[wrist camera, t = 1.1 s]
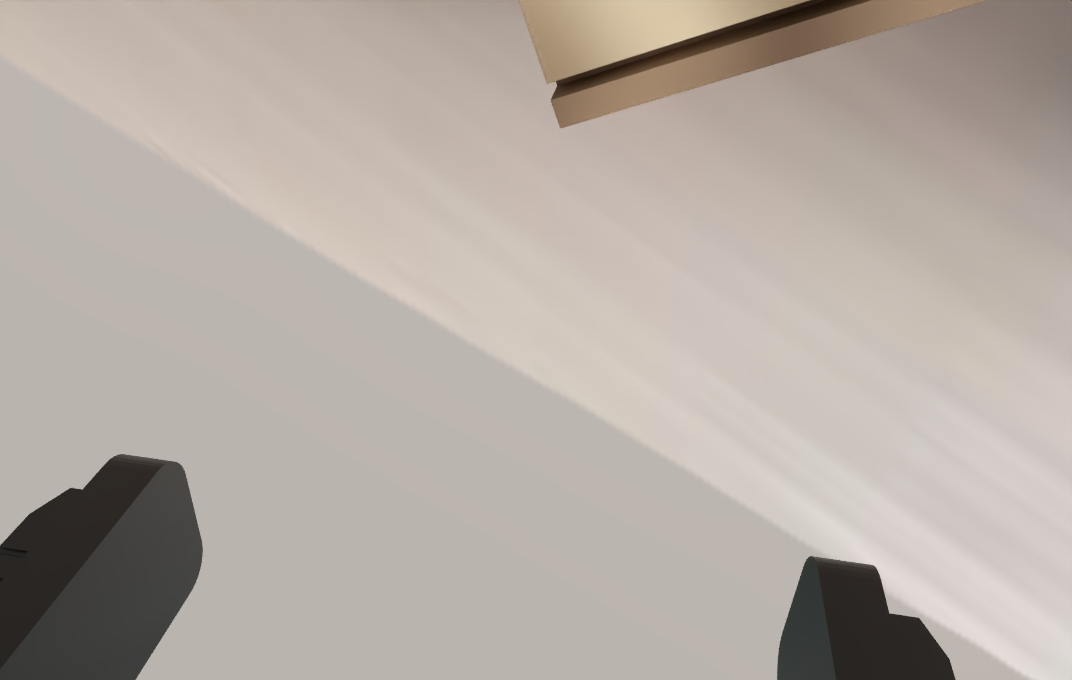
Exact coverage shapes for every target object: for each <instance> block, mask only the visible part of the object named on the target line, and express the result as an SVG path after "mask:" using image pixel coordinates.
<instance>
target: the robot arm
mask: <svg viewBox="0 0 1072 680" xmlns="http://www.w3.org/2000/svg"><path fill="white" fill-rule="evenodd" d="M202 552H203V548H202V540H201V536H200V532H199V528H198V524H197V520H196V516H195V512H194V507H193V503H192V499H191V495H190V491H189V486H188V482H187V478H186V474H185V471H184V470H183V467H182V466H181V465H180V464H179V463H177V462H173V461H166V460H158V459H152V458H145V457H138V456H131V455H125V454H120V455H117V456H114V457H113V458H111V459H110V460H109V461H108V462H107V463H106V464H105V465H104V466H103V467H102V468H101V469H100V471H99V472H98V473H97V474H96V475H95V476H94V477H93V478H92V480H91V481H90V482H89V483H88V484H87V485H86V486H85V487H84V489H83V490H81V489H74V488H70V489H68V490H67V491H65V492H64V493H62V494H60V495H59V496H57V497H56V498H54V499H52V500H51V501H49V502H48V503H46V504H45V505H43V506H42V507H40V508H38V509H37V510H35V511H34V512H32V513H30V514H29V515H28V516H27V517H26V518H25V519H24V521H23V522H22V523H21V524H20V525H19V526H18V527H17V528H16V529H15V530H14V531H13V532H12V533H11V535H10V536H9V537H8V538H7V539H6V540H5V541H4V542H3V543H2V544H1V545H0V680H135V679H136V678H137V676H138V675H139V673H140V672H141V670H142V668H143V667H144V665H145V664H146V662H147V661H148V659H149V657H150V656H151V654H152V653H153V651H154V649H155V648H156V646H157V645H158V643H159V642H160V640H161V638H162V637H163V635H164V634H165V632H166V630H167V629H168V627H169V625H170V624H171V623H172V621H173V619H174V618H175V616H176V615H177V613H178V612H179V610H180V608H181V607H182V605H183V604H184V602H185V600H186V599H187V597H188V595H189V594H190V592H191V591H192V589H193V587H194V585H195V583H196V580H197V578H198V575H199V571H200V567H201V563H202ZM777 680H955V677H954V673H953V670H952V666H951V663H950V660H949V658H948V657H947V655H946V654H945V653H944V651H943V650H942V649H941V647H940V646H939V644H938V643H937V642H936V640H935V639H934V638H933V636H932V635H931V634H930V632H929V631H928V629H927V628H926V627H925V625H924V624H923V623H922V621H921V620H920V619H919V618H916V617H909V616H902V615H896V614H889V611H888V607H887V603H886V598H885V594H884V590H883V586H882V582H881V578H880V575H879V573H878V570H877V569H876V567H875V566H873V565H868V564H861V563H854V562H847V561H840V560H833V559H827V558H819V557H813V556H810V557H808V559H807V560H806V562H805V564H804V567H803V570H802V573H801V576H800V579H799V582H798V586H797V589H796V592H795V595H794V598H793V602H792V604H791V608H790V611H789V614H788V617H787V620H786V623H785V626H784V630H783V633H782V637H781V641H780V647H779V655H778V670H777Z"/></svg>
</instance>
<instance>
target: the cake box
mask: <svg viewBox="0 0 1072 680" xmlns="http://www.w3.org/2000/svg"><path fill="white" fill-rule="evenodd" d="M983 1H986V0H809V1H805V2H802V3H799V4H796V5H793V6H790V7H787V8H783V9H780V10H777V11H774V12H771V13H768V14H765V15H761V16H758V17H755V18H752V19H749V20H746V21H743V22H740V23H736V24H733V25H730V26H727V27H724V28H721V29H718V30H714V31H711V32H708V33H705V34H702V35H699V36H696V37H692V38H689V39H686V40H683V41H680V42H677V43H674V44H671V45H667V46H664V47H661V48H658V49H655V50H652V51H649V52H645V53H642V54H639V55H636V56H633V57H630V58H627V59H623V60H620V61H617V62H614V63H611V64H608V65H605V66H601V67H598V68H595V69H592V70H589V71H586V72H583V73H580V74H576V75H573V76H570V77H567V78H564V79H561V80H558V81H556V83H557V88H556V90H555V92H554V94H553V96H552V99H551V103H552V106H553V108H554V111H555V114H556V117H557V120H558V123H559V126H560V128H563V127H567V126H570V125H573V124H577V123H580V122H583V121H587V120H590V119H593V118H597V117H600V116H603V115H607V114H610V113H613V112H617V111H620V110H623V109H627V108H630V107H633V106H637V105H640V104H643V103H647V102H650V101H653V100H657V99H660V98H663V97H667V96H670V95H673V94H677V93H680V92H683V91H687V90H690V89H693V88H697V87H700V86H703V85H707V84H710V83H713V82H717V81H720V80H723V79H727V78H730V77H733V76H736V75H740V74H743V73H746V72H750V71H753V70H756V69H760V68H763V67H766V66H770V65H773V64H776V63H780V62H783V61H786V60H790V59H793V58H796V57H800V56H803V55H806V54H810V53H813V52H816V51H820V50H823V49H826V48H830V47H833V46H836V45H840V44H843V43H846V42H850V41H853V40H856V39H860V38H863V37H866V36H870V35H873V34H876V33H880V32H883V31H886V30H890V29H893V28H896V27H900V26H903V25H906V24H910V23H913V22H916V21H920V20H923V19H926V18H930V17H933V16H936V15H940V14H943V13H946V12H950V11H953V10H956V9H960V8H963V7H966V6H970V5H973V4H976V3H980V2H983Z"/></svg>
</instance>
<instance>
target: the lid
mask: <svg viewBox="0 0 1072 680" xmlns="http://www.w3.org/2000/svg"><path fill="white" fill-rule="evenodd" d="M805 1H809V0H519V3H520V6H521V9H522V12H523V15H524V18H525V21H526V24H527V27H528V29H529V32H530V35H531V38H532V41H533V44H534V47H535V50H536V53H537V56H538V59H539V62H540V65H541V68H542V71H543V74H544V77H545V80H546V83H547V84H548V83H551V82H554V81H558V80H561V79H564V78H567V77H570V76H573V75H576V74H580V73H583V72H586V71H589V70H592V69H595V68H598V67H601V66H605V65H608V64H611V63H614V62H617V61H620V60H623V59H627V58H630V57H633V56H636V55H639V54H642V53H645V52H649V51H652V50H655V49H658V48H661V47H664V46H667V45H671V44H674V43H677V42H680V41H683V40H686V39H689V38H692V37H696V36H699V35H702V34H705V33H708V32H711V31H714V30H718V29H721V28H724V27H727V26H730V25H733V24H736V23H740V22H743V21H746V20H749V19H752V18H755V17H758V16H761V15H765V14H768V13H771V12H774V11H777V10H780V9H783V8H787V7H790V6H793V5H796V4H799V3H802V2H805Z"/></svg>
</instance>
